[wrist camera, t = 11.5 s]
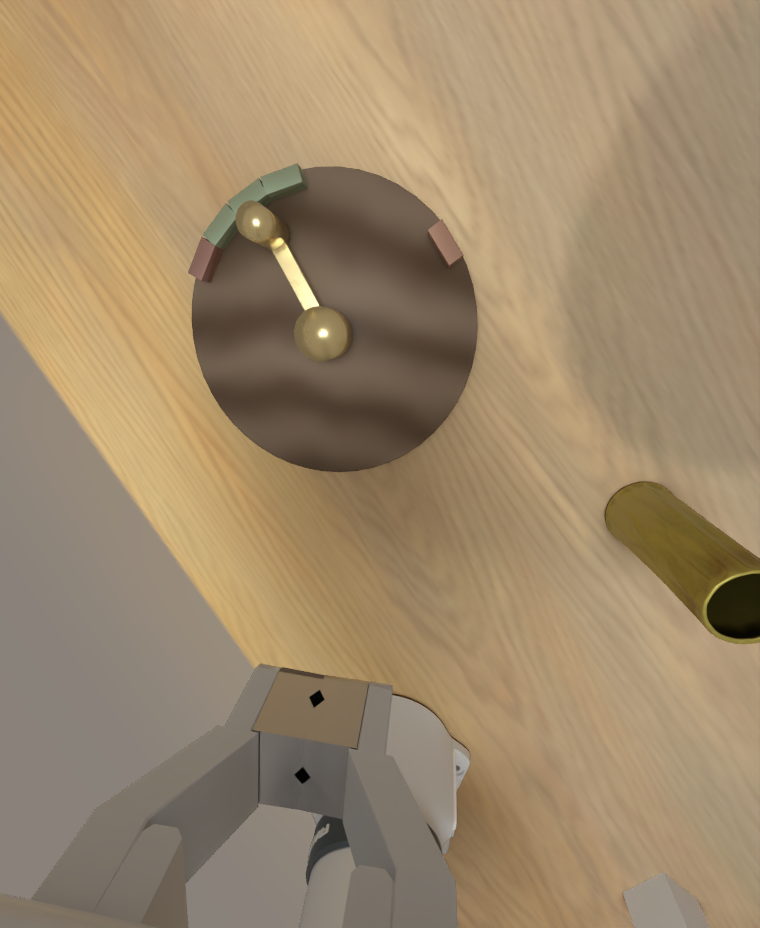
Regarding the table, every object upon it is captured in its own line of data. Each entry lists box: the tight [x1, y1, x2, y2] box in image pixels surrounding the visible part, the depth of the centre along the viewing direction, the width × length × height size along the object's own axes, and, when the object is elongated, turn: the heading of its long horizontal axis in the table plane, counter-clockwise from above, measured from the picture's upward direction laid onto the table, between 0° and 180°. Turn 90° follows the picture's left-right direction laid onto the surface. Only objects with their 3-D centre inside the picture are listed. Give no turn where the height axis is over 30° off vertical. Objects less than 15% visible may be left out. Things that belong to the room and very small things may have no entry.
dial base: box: [188, 164, 477, 472], centre depth 36 cm, size 24×24×4 cm
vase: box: [605, 482, 760, 644], centre depth 32 cm, size 6×6×14 cm
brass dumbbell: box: [236, 200, 353, 361], centre depth 32 cm, size 12×4×4 cm, turn 28°
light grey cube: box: [622, 872, 710, 928], centre depth 50 cm, size 6×6×6 cm
